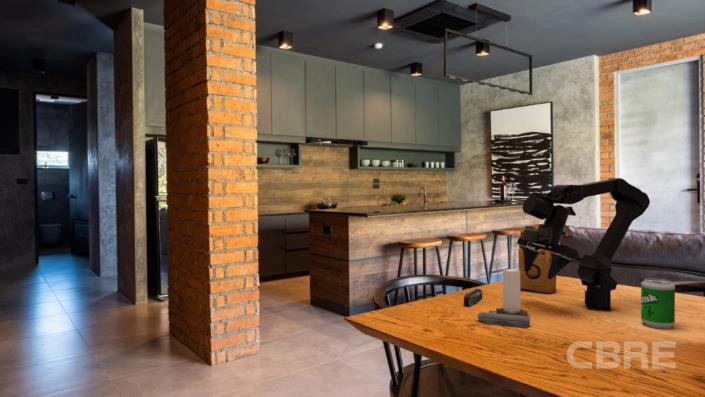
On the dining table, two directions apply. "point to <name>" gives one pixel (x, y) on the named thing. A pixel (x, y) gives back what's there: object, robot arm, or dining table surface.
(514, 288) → the pin
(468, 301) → the mobile phone
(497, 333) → the dining table surface
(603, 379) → the dining table surface
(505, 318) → the grey domed rod
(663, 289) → the soda can
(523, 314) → the clamp board
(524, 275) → the coffee package
